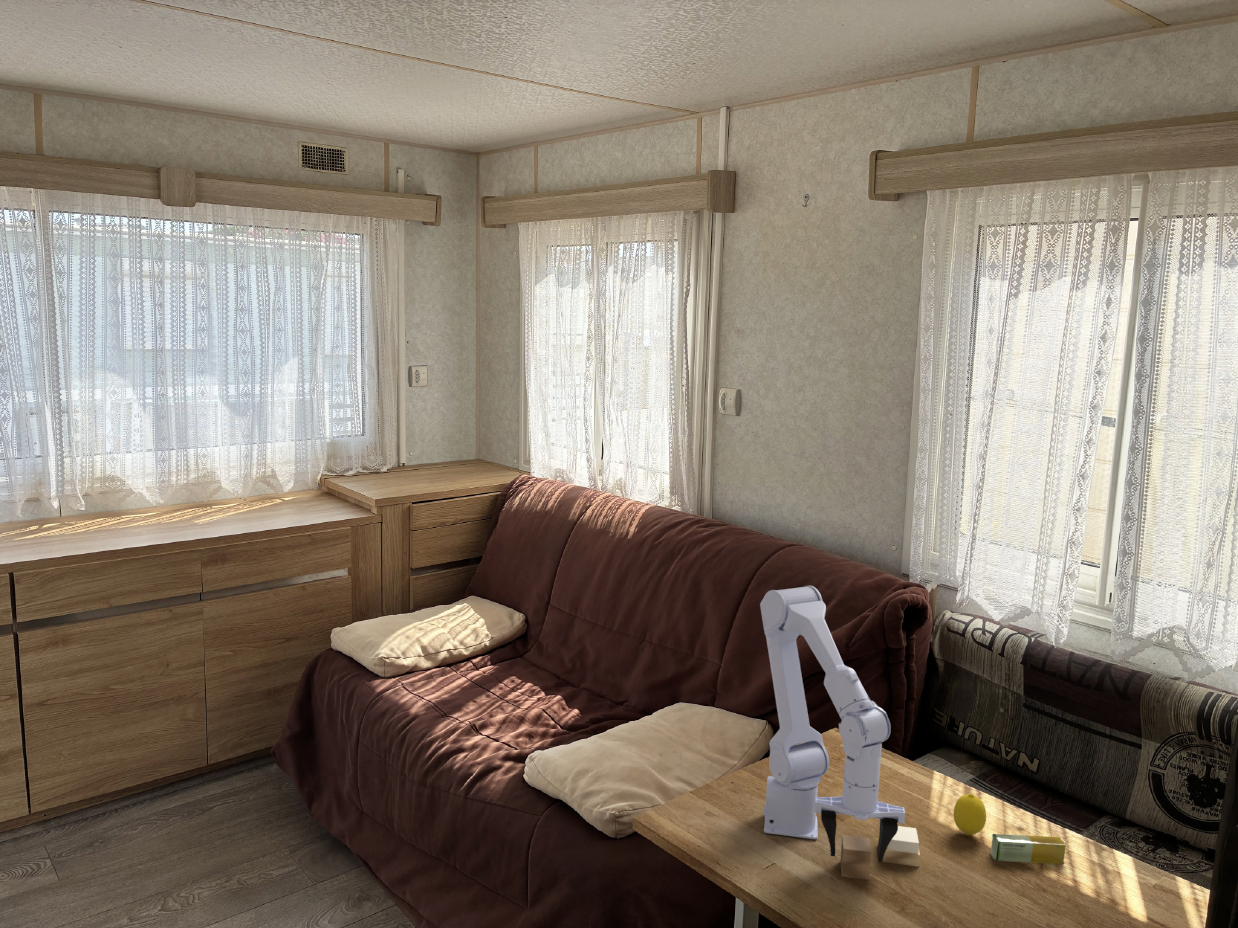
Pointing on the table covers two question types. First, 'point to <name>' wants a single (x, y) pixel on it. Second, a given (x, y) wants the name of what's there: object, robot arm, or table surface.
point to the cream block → (905, 840)
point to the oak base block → (902, 858)
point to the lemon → (969, 814)
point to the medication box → (1027, 848)
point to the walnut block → (855, 857)
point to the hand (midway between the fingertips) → (856, 855)
